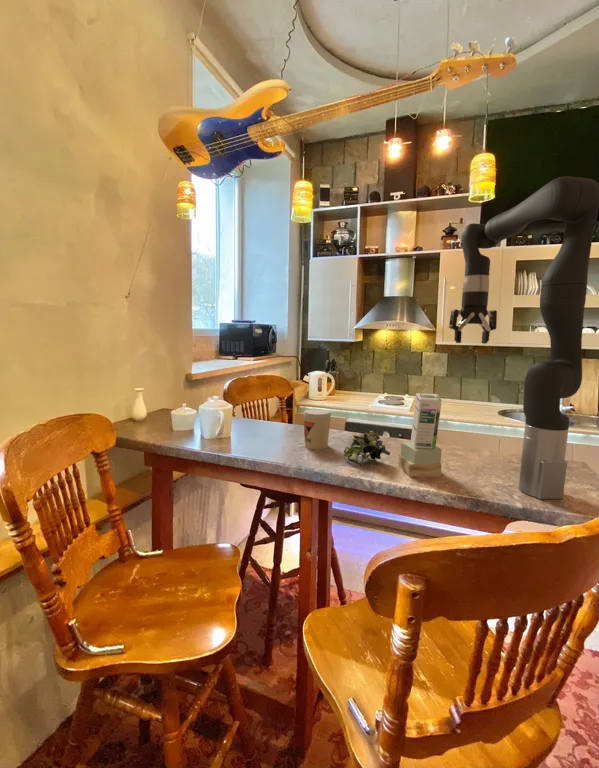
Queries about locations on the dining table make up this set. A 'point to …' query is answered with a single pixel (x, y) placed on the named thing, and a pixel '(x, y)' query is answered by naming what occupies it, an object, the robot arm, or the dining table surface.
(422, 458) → the tower top
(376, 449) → the passion flower
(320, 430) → the coffee cup
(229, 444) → the dining table surface
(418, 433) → the syrup box
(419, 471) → the tower base
